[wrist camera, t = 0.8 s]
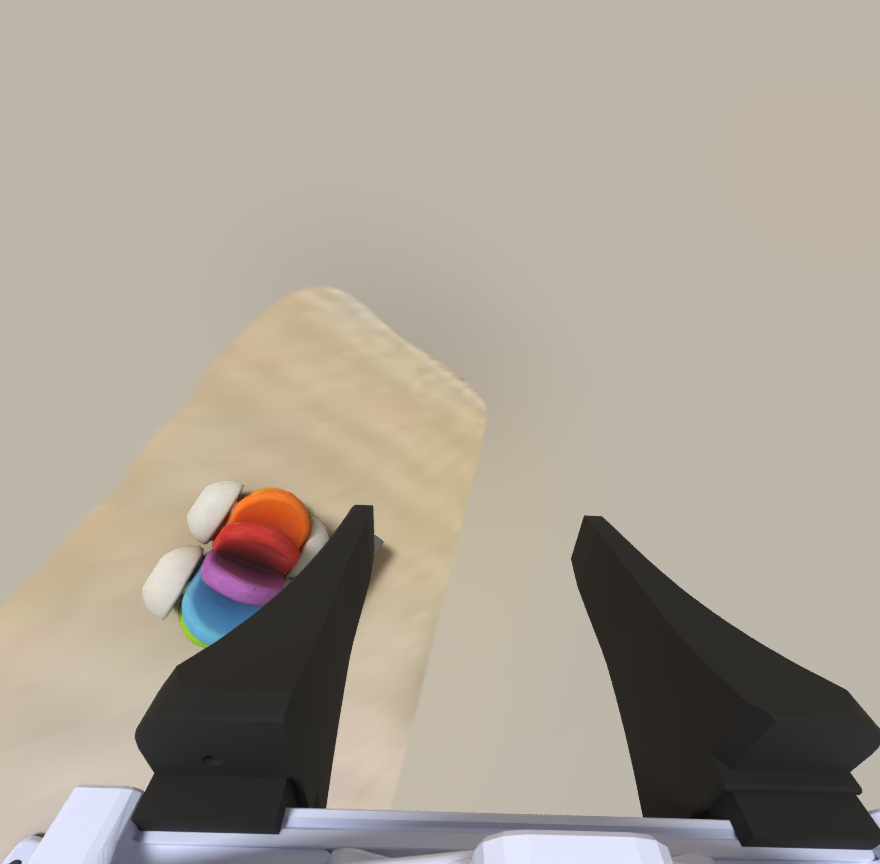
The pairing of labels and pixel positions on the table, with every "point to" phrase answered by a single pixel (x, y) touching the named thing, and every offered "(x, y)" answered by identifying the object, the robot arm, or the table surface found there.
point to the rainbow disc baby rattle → (233, 559)
